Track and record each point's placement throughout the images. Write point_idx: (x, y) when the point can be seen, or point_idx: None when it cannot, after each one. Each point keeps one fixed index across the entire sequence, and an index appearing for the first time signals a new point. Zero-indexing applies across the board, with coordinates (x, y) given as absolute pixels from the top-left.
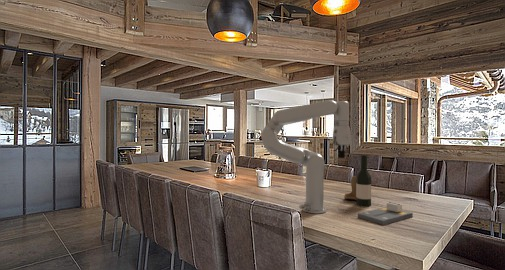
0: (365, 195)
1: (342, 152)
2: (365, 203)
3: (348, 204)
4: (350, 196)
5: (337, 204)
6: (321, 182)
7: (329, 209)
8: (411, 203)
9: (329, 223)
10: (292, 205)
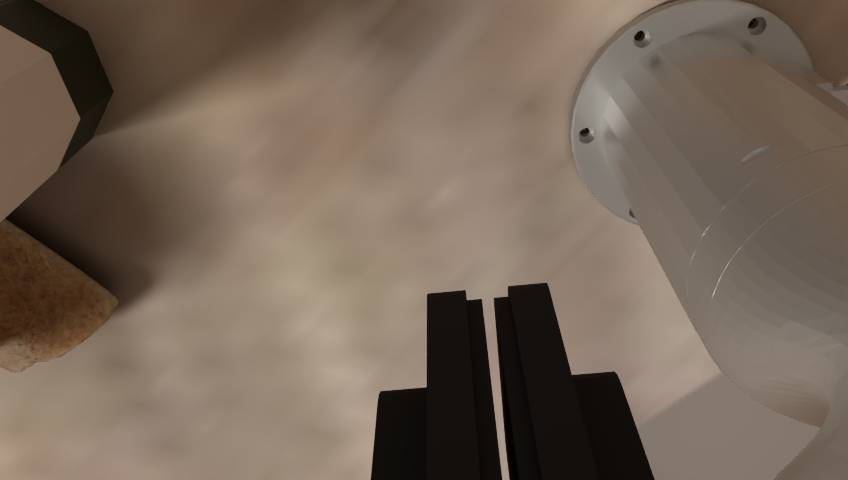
0: None
1: (588, 454)
2: (37, 19)
3: (188, 155)
4: (52, 281)
5: (300, 202)
6: (845, 151)
7: (515, 88)
8: None
9: None
10: None
